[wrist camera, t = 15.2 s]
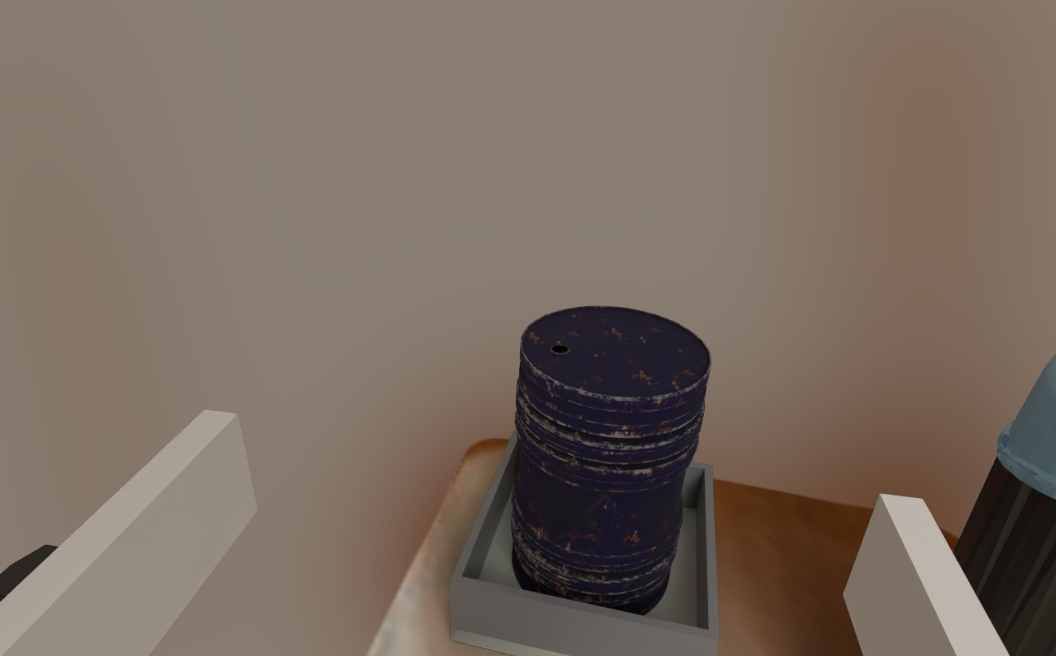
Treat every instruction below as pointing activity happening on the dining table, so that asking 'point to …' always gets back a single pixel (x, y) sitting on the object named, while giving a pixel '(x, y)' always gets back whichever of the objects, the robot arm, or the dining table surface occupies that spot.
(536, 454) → the dark blue ribbed cylinder
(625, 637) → the cradle tray
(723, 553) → the dining table surface
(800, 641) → the dining table surface
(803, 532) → the dining table surface
